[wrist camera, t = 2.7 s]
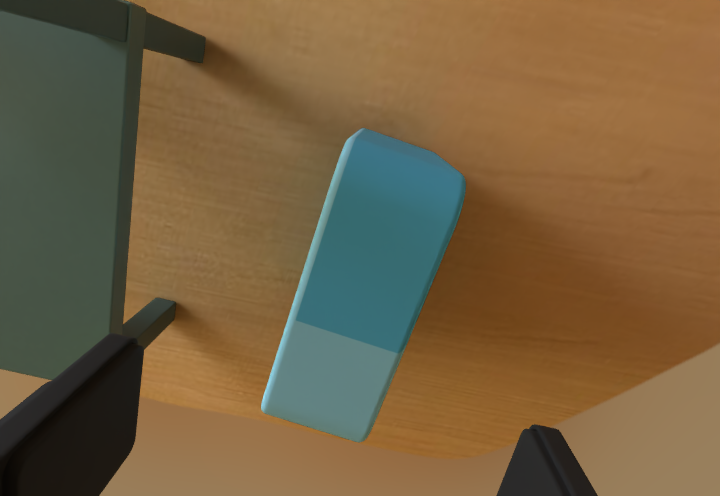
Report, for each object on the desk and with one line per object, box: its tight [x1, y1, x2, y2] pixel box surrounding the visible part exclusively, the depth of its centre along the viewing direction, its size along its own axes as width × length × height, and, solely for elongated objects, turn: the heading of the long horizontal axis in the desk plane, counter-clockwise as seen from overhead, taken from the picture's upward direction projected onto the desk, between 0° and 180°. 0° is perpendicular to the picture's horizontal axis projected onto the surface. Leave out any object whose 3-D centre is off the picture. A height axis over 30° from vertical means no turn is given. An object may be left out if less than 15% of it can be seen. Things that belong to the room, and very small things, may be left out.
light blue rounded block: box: [261, 128, 466, 442], centre depth 22 cm, size 12×4×12 cm, turn 161°
